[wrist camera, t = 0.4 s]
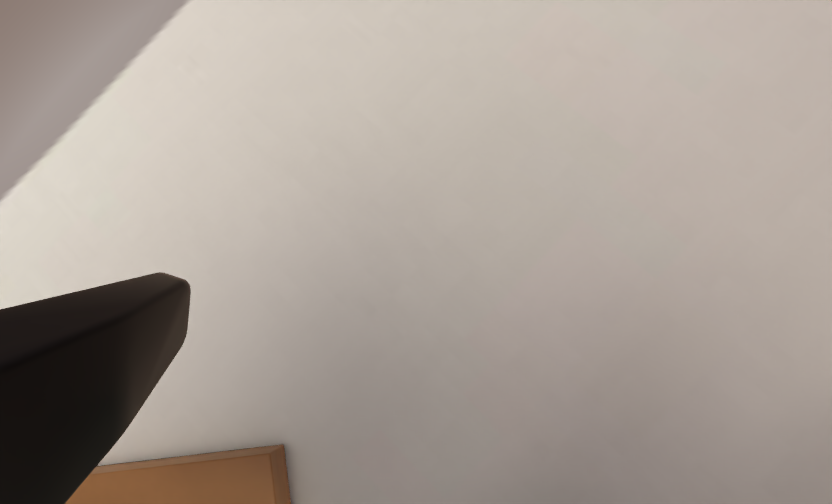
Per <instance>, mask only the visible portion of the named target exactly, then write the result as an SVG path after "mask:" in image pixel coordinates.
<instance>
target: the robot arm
mask: <svg viewBox="0 0 832 504" xmlns="http://www.w3.org/2000/svg"><path fill="white" fill-rule="evenodd" d="M190 294H191V290H190V285H189V283H188V282H187V281H186V280H184V279H181V278H178V277H175V276H172V275H169V274H166V273H161V272H159V273H154V274H150V275H146V276H142V277H137V278H133V279H129V280H125V281H120V282H116V283H112V284H108V285H103V286H99V287H95V288H90V289H86V290H82V291H78V292H73V293H69V294H65V295H61V296H56V297H52V298H48V299H44V300H39V301H35V302H31V303H27V304H22V305H18V306H14V307H10V308H5V309H1V310H0V504H65V503H66V502H67V500H68V499H69V498H70V497H71V496H72V495H73V493H74V492H75V491H76V490H77V489H78V487H79V486H80V485H81V484H82V483H83V481H84V480H85V479H86V478H87V477H88V476H89V474H90V473H91V472H92V471H93V470H94V468H95V467H96V466H97V465H98V464H99V462H100V461H101V460H102V459H103V458H104V456H105V455H106V454H107V453H108V452H109V451H110V449H111V448H112V447H113V446H114V444H115V443H116V442H117V441H118V439H119V438H120V437H121V436H122V434H123V433H124V432H125V430H126V429H127V427H128V426H129V425H130V423H131V422H132V420H133V419H134V417H135V416H136V414H137V413H138V411H139V410H140V408H141V407H142V405H143V404H144V402H145V401H146V399H147V398H148V396H149V395H150V393H151V392H152V390H153V389H154V387H155V386H156V384H157V383H158V381H159V380H160V378H161V377H162V375H163V374H164V372H165V371H166V369H167V368H168V366H169V365H170V363H171V362H172V360H173V359H174V357H175V356H176V354H177V353H178V351H179V350H180V348H181V347H182V345H183V343H184V340H185V337H186V334H187V328H188V316H189V305H190Z"/></svg>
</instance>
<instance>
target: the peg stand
mask: <svg viewBox="0 0 832 504" xmlns="http://www.w3.org/2000/svg"><path fill="white" fill-rule="evenodd" d="M65 504H291V501H290V492H289V484H288V475H287V467H286V459H285V450H284V445H282V444H281V445H273V446H264V447H256V448H247V449H239V450H231V451H222V452H214V453H205V454H197V455H189V456H180V457H172V458H163V459H155V460H146V461H138V462H130V463H121V464H113V465H104V466H96V467H95V468H94V470H93V471H92V472H91V473H90V474H89V476H88V477H87V478H86V479H85V480H84V481H83V483H82V484H81V485H80V486H79V487H78V489H77V490H76V491H75V492H74V493H73V495H72V496H71V497H70V498H69V499H68V500H67V502H66V503H65Z"/></svg>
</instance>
